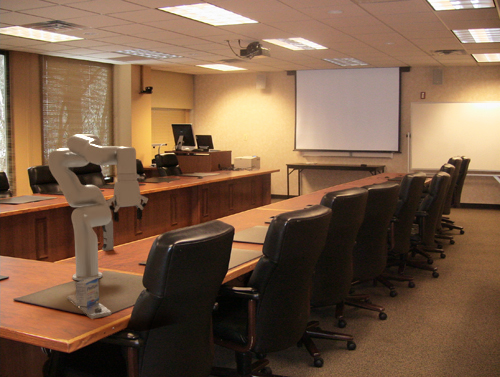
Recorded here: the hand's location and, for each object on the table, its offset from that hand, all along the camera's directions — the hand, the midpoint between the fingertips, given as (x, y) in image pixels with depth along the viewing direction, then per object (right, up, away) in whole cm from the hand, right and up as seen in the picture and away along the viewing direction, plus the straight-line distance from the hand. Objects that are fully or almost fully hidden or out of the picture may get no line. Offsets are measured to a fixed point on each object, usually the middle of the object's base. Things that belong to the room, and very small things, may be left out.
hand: (128, 220), depth 207 cm
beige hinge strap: (-10, -30, -19) cm, 37 cm away
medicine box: (-10, -29, -19) cm, 36 cm away
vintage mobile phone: (-29, -21, +77) cm, 85 cm away
